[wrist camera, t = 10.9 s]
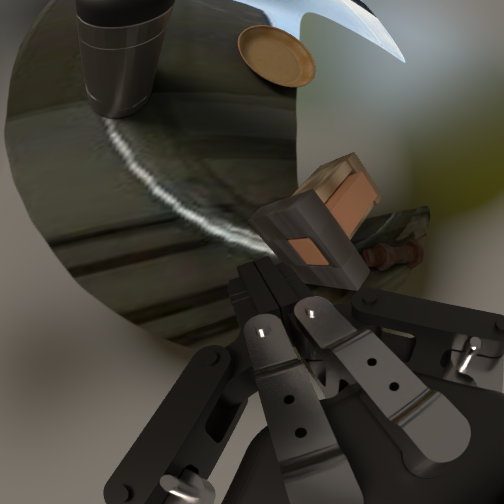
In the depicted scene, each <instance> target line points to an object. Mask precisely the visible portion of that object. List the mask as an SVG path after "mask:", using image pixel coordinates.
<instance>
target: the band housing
mask: <svg viewBox="0 0 504 504" xmlns="http://www.w3.org/2000/svg"><path fill="white" fill-rule="evenodd" d="M359 172H363V174H364V175H365V177H366V178H367V180H368V182H369V183H370V185H371V186H372V188H373V189H374V191H375V193H376V194H377V197H376V198H375V200H374V201H373V203H372V204H371V206H370V207H369V209H368V210H367V212H366V213H365V214H364V216H363V217H362V219H361V220H360V222H359V223H358V224H357V226H356V227H355V229H354V230H353V232H352V233H351V234H350V236H349V237H348V236H347V235H346V233H345V232H344V231H343V229H342V228H341V226H340V225H339V223H338V222H337V221H336V219H335V218H334V216H333V215H332V214H331V212H330V211H329V209H328V208H327V207H326V205H325V204H324V203H325V202H326V200H327V199H328V198H329V197H330V196H331V195H332V193H333V192H334V191H335V190H336V189H337V187H338V186H339V185H340V184H341V183H342V182H343V180H344V179H345V178H346V177H347V176H350V175H353V174H356V173H359ZM382 197H383V196H382V194H381V193H380V191H379V189H378V188H377V186H376V184H375V183H374V181H373V180H372V178H371V177H370V175H369V173H368V172H367V171H366V169H365V167H364V166H363V164H362V163H361V161H360V160H359V158H358V157H357V155H356V154H355V153H354V152H353V153H350V154H348V155H346V156H343V157H341V158H338V159H336V160H333V161H331V162H329V163H326V164H324V165H322V166H320V167H319V168H318V169H317V170H316V171H315V172H314V173H313V174H312V175H311V176H310V177H309V178H308V179H307V180H306V181H305V182H304V183H303V184H302V185H301V186H300V187H299V188H298V189H297V191H296V192H295V193H294V194H293V195H292V196H290V197H288V198H285V199H282V200H279V201H276V202H273V203H270V204H268V205H265V206H262V207H260V208H259V209H258V210H257V211H256V212H255V213H254V214H253V215H252V216H251V217H250V218H249V219H248V221H247V222H248V223H249V224H250V225H251V227H252V228H253V229H254V230H255V231H256V232H257V233H258V235H259V236H260V237H261V238H262V239H263V240H264V242H265V243H266V244H267V245H268V246H269V247H270V248H271V250H272V251H273V252H274V253H275V254H276V255H277V257H278V258H279V259H280V260H281V261H282V262H283V263H284V264H286V265H288V266H290V267H292V269H293V270H294V271H295V272H296V274H297V275H298V276H299V277H300V279H301V280H302V281H303V282H304V283H306V284H313V285H320V286H327V287H334V288H341V289H348V290H356V291H358V290H359V288H360V287H361V285H362V284H363V282H364V281H365V279H366V278H367V276H368V275H369V273H370V272H371V271H370V270H369V268H368V266H367V265H366V263H365V262H364V260H363V259H362V257H361V256H360V254H359V253H358V251H357V250H356V248H355V247H354V245H353V244H352V242H351V241H350V240H351V238H352V237H353V236H354V234H355V233H356V231H357V230H358V228H359V227H360V226H361V224H362V223H363V221H364V220H365V218H366V217H367V215H368V214H369V212H370V211H371V209H372V208H373V206H374V205H378V203H379V202H380V200H381V199H382ZM302 237H309V238H310V239H311V240H312V242H313V243H314V244H315V246H316V247H317V248H318V249H319V251H320V252H321V253H322V255H323V256H324V257H325V259H326V260H327V261H328V263H329V264H328V265H310V264H307V263H306V262H305V261H304V260H303V259H302V257H301V256H300V255H299V254H298V252H297V251H296V250H295V249H294V248H293V246H292V245H291V244H290V243H289V241H288V240H289V239H292V238H302Z"/></svg>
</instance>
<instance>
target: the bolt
mask: <svg viewBox="0 0 504 504" xmlns="http://www.w3.org/2000/svg"><path fill="white" fill-rule="evenodd" d="M361 257H362V259H363V260H364V262H365V263H366V265H367V266H368V267H376V268H377V269H379V270H380V271H383V270H386V269H388V268H389V267H391V266H392V265H393V264H398V263H404V264H405V265H407V266H408V267H409V268H414V267H416V266H417V265H418V264H420V263H421V262H422V260H423V248H422V246H421V245H420V244H419V243H418V242H416V241H415V240H413V239H409V240H408V241H407V242H406V243H405V244H403V245H402V246H401V247H390V246H389V245H388V244H386V243H379V244H377V245H376V246H375V247H374V248H370V249H365V250H363V252H362V255H361Z"/></svg>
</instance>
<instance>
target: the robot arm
mask: <svg viewBox="0 0 504 504" xmlns="http://www.w3.org/2000/svg"><path fill="white" fill-rule="evenodd" d="M174 3H175V0H76V14H77V27H78V36H79V45H80V53H81V60H82V67H83V73H84V79H85V85H86V90H87V95H88V100H89V104H90V106H91V108H92V109H93V110H94V111H95V112H96V113H98V114H99V115H102V116H104V117H109V118H120V117H125V116H128V115H131V114H133V113H135V112H136V111H138V110H140V109H141V108H142V107H143V106H144V105H145V104H146V103H147V101H148V100H149V98H150V96H151V92H152V87H153V82H154V78H155V74H156V69H157V65H158V61H159V56H160V52H161V48H162V44H163V41H164V37H165V33H166V30H167V26H168V23H169V19H170V16H171V13H172V10H173V6H174ZM237 270H238V274H239V277H238V278H235V279H232V280H229V283H228V287H227V289H228V293H229V296H230V299H231V302H232V305H233V308H234V311H235V314H236V317H237V320H238V323H239V325H240V328H241V331H240V334H239V336H238V338H237V339H236V340H235V341H234V342H233V343H231V344H230V345H228V346H227V347H225V348H224V347H222V346H217V345H212V346H207V347H204V348H202V349H200V350H199V351H198V352H197V353H196V354H195V355H194V356H193V358H192V359H191V361H190V362H189V363H188V365H187V366H186V368H185V369H184V371H183V372H182V374H181V375H180V377H179V378H178V380H177V381H176V383H175V384H174V386H173V387H172V389H171V390H170V391H169V393H168V394H167V396H166V397H165V399H164V400H163V402H162V403H161V405H160V406H159V408H158V409H157V411H156V412H155V414H154V415H153V416H152V418H151V419H150V421H149V422H148V424H147V425H146V427H145V428H144V429H143V431H142V433H141V434H140V435H139V437H138V438H137V440H136V441H135V443H134V444H133V445H132V447H131V448H130V450H129V451H128V453H127V454H126V455H125V457H124V458H123V460H122V461H121V463H120V464H119V466H118V467H117V468H116V470H115V471H114V473H113V474H112V476H111V477H110V479H109V480H108V481H107V483H106V485H105V487H104V499H105V502H106V504H213V503H214V500H215V489H214V487H213V486H212V484H211V483H210V482H209V481H207V479H208V477H209V476H210V474H211V472H212V470H213V468H214V467H215V465H216V463H217V461H218V459H219V457H220V456H221V454H222V452H223V450H224V448H225V446H226V444H227V442H228V441H229V439H230V436H231V435H232V433H233V431H234V429H235V427H236V425H237V423H238V421H239V419H240V417H241V415H242V413H243V411H244V409H245V407H246V405H247V403H248V397H250V396H251V395H252V394H254V393H255V392H257V391H258V392H259V396H260V399H261V403H262V407H263V410H264V414H265V418H266V421H267V426H266V427H265V428H264V429H262V430H261V431H260V432H259V433H258V434H257V435H256V436H255V438H254V439H253V440H252V441H251V443H250V445H249V446H248V448H247V450H246V452H245V455H244V457H243V459H242V461H241V463H240V466H239V468H238V470H237V472H236V474H235V476H234V479H233V481H232V483H231V485H230V487H229V489H228V491H227V493H226V495H225V497H224V500H223V501H222V503H221V504H504V394H503V393H502V384H503V364H504V363H503V362H504V316H503V315H500V314H495V313H490V312H485V311H480V310H475V309H470V308H465V307H460V306H455V305H450V304H445V303H440V302H435V301H430V300H426V299H420V298H416V297H411V296H406V295H401V294H397V293H392V292H387V291H382V290H378V289H372V288H366V289H362V290H359V291H357V292H356V293H355V294H354V295H353V297H352V302H351V303H346V304H339V305H332V304H331V303H330V302H329V301H328V300H326V299H324V298H322V297H315V296H314V295H313V294H312V293H311V291H310V290H309V289H308V287H307V286H306V285H305V284H304V282H303V281H302V280H301V279H300V277H299V276H298V275H297V274H296V272H295V271H294V270H293V269H292V267H290V266H288V265H286V264H284V263H281V264H278V265H275V264H274V263H273V262H272V260H271V259H270V257H269V256H268V257H264V258H261V259H258V260H255V261H253V262H249V263H246V264H242V265H239V266H237ZM383 328H387V329H392V330H396V331H400V332H405V333H409V334H412V335H413V336H414V337H413V338H408V337H403V336H399V335H395V334H391V333H387V332H383ZM293 347H296V349H297V351H298V353H299V354H300V358H301V360H298V359H297V357H296V354H295V352H294V350H293ZM303 364H304V365H305V367H306V368H307V370H308V371H309V373H310V374H311V376H312V377H313V379H314V380H315V382H316V383H317V384H318V386H319V387H320V389H321V390H322V392H323V394H324V396H325V399H323V400H319V399H318V397H317V395H316V393H315V390H314V388H313V386H312V383H311V381H310V379H309V376H308V374H307V372H306V370H305V367H304V365H303Z"/></svg>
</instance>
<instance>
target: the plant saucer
mask: <svg viewBox="0 0 504 504" xmlns="http://www.w3.org/2000/svg"><path fill="white" fill-rule="evenodd" d="M238 47H239V51H240V54H241V56H242V58H243V60H244V61H245V63H246V64H247V65H248V67H249V68H250V69H251V70H252V71H253V72H254V73H256V74H257V75H258V76H260V77H261V78H263V79H265V80H267V81H269V82H271V83H274V84H277V85H281V86H285V87H301V86H305V85H307V84H308V83H310V82H311V81H312V79H313V78H314V75H315V64H314V60H313V58H312V56H311V54H310V52H309V51H308V50H307V48H306V47H305V46H304V45H303V44H302V43H301V42H300V41H299V40H298V39H296V38H295V37H294V36H292V35H291V34H289V33H287V32H285V31H283V30H281V29H278V28H275V27H272V26H266V25H258V26H252V27H249V28H247V29H245V30H244V31H243V32H242V33H241V34H240V36H239V39H238Z"/></svg>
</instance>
